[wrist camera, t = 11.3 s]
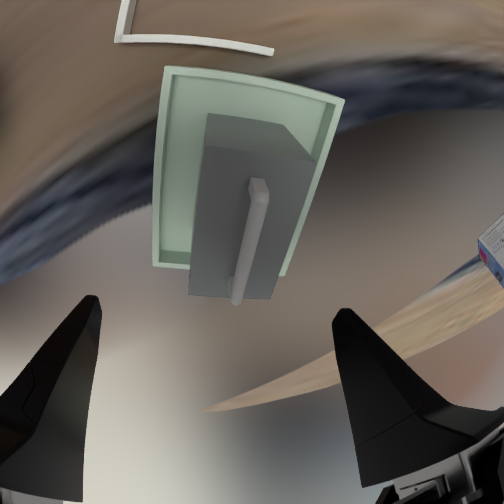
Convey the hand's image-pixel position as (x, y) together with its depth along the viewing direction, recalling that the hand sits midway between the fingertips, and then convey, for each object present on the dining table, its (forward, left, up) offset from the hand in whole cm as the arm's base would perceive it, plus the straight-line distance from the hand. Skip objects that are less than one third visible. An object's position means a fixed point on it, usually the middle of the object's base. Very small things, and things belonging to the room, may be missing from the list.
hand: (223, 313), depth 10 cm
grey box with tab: (+1, -1, -12) cm, 12 cm away
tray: (+1, -1, -13) cm, 13 cm away
